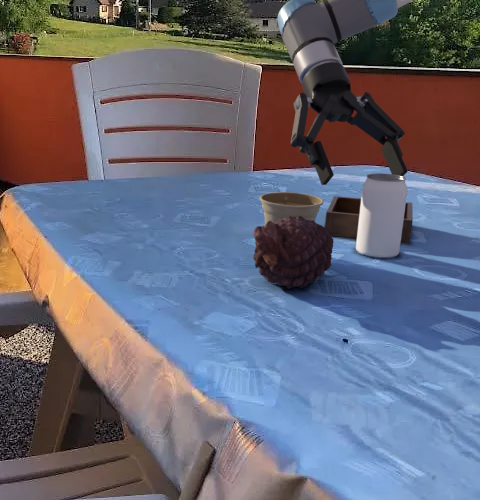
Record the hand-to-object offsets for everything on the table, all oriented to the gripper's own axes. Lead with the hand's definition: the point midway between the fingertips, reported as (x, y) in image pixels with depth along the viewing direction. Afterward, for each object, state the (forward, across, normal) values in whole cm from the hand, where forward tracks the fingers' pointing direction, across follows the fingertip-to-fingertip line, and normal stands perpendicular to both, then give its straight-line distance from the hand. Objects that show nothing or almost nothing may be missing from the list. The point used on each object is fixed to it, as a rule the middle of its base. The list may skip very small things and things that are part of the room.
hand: (365, 178), depth 112 cm
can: (+11, 0, -4) cm, 12 cm away
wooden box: (+3, -7, -13) cm, 15 cm away
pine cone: (+18, +20, +2) cm, 27 cm away
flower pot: (+9, +14, -6) cm, 18 cm away
